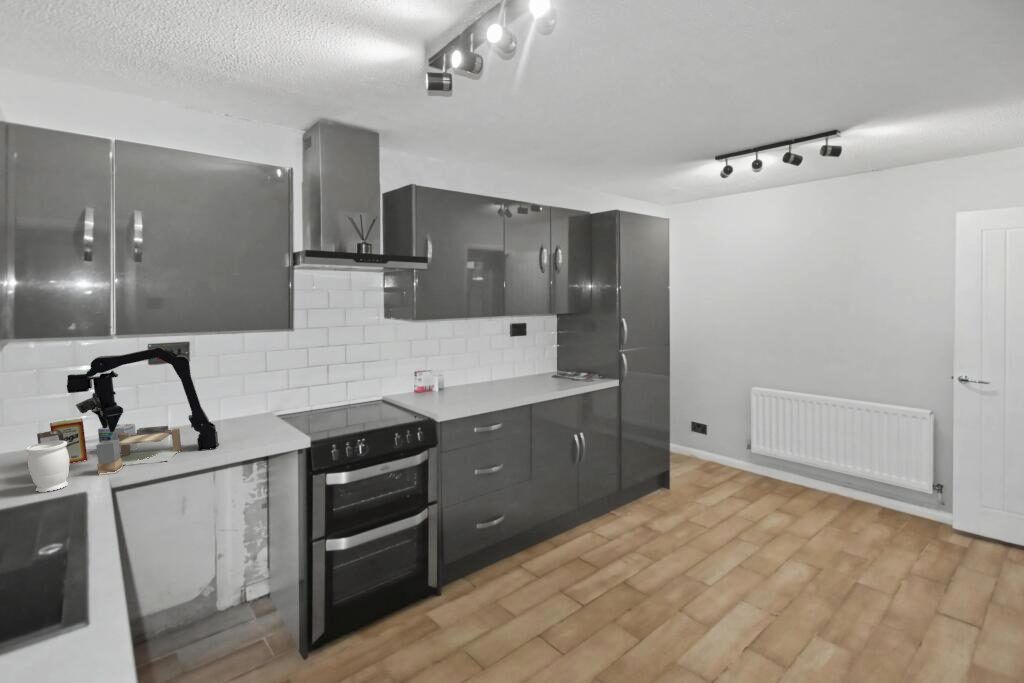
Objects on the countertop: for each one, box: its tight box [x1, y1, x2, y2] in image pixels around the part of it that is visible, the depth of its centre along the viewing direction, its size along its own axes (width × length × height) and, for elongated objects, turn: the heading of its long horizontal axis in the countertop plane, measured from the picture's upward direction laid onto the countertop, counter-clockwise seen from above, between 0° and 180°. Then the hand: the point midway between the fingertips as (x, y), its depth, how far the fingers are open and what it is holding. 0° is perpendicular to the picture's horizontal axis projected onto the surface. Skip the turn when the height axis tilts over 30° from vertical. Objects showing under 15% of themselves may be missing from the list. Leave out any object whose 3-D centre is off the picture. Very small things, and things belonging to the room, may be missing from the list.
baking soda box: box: [49, 417, 88, 464], centre depth 202 cm, size 10×6×16 cm
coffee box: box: [36, 430, 64, 444], centre depth 185 cm, size 9×6×16 cm
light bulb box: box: [97, 423, 138, 453], centre depth 213 cm, size 11×7×11 cm, turn 92°
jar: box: [25, 441, 70, 493], centre depth 175 cm, size 11×10×15 cm
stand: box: [120, 428, 182, 465], centre depth 204 cm, size 20×15×9 cm
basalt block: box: [95, 440, 121, 464], centre depth 189 cm, size 5×5×7 cm
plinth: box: [96, 457, 123, 475], centre depth 190 cm, size 5×5×4 cm
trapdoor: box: [119, 425, 172, 445], centre depth 205 cm, size 14×14×3 cm
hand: (108, 430), depth 198 cm, fingers open, 9 cm apart
